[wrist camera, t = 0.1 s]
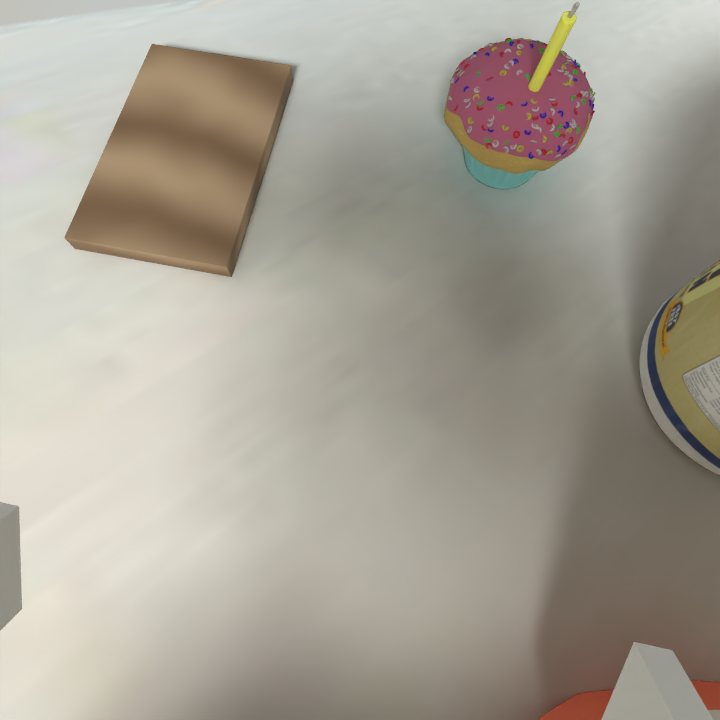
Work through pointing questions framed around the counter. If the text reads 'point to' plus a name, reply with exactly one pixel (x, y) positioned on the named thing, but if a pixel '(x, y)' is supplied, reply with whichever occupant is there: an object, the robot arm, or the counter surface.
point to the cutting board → (184, 161)
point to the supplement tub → (687, 368)
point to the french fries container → (586, 710)
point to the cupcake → (519, 107)
